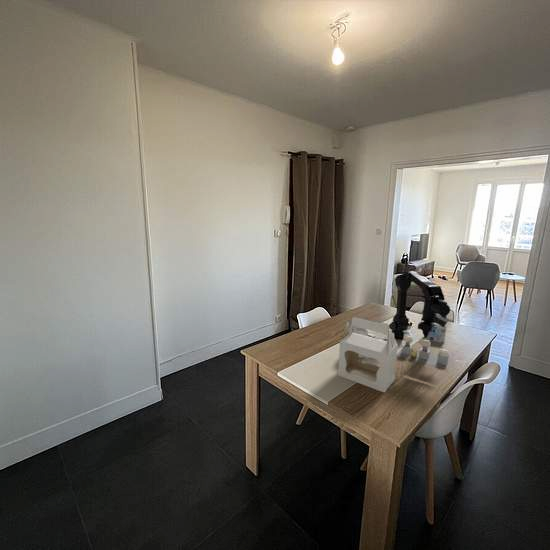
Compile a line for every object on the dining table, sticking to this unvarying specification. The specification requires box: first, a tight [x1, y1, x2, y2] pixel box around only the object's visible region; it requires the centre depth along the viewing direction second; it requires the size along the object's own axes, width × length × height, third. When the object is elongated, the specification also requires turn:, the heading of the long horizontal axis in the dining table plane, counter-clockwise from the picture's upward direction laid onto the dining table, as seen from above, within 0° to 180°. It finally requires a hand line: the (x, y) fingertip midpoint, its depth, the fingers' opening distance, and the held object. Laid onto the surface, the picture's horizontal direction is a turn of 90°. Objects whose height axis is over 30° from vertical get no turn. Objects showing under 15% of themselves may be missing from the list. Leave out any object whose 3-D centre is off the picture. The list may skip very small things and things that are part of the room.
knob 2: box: [438, 348, 450, 358], centre depth 148 cm, size 4×4×6 cm
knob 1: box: [403, 335, 414, 347], centre depth 158 cm, size 4×4×6 cm
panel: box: [397, 343, 453, 371], centre depth 153 cm, size 24×13×5 cm, turn 53°
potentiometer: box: [410, 349, 418, 360], centre depth 153 cm, size 3×3×4 cm
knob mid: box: [420, 339, 431, 352], centre depth 153 cm, size 4×4×6 cm
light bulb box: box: [424, 323, 447, 343], centre depth 178 cm, size 11×7×11 cm, turn 68°
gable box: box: [337, 316, 399, 394], centre depth 134 cm, size 22×13×28 cm, turn 51°
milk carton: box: [353, 326, 369, 359], centre depth 157 cm, size 7×7×19 cm
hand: (425, 337), depth 152 cm, fingers closed
